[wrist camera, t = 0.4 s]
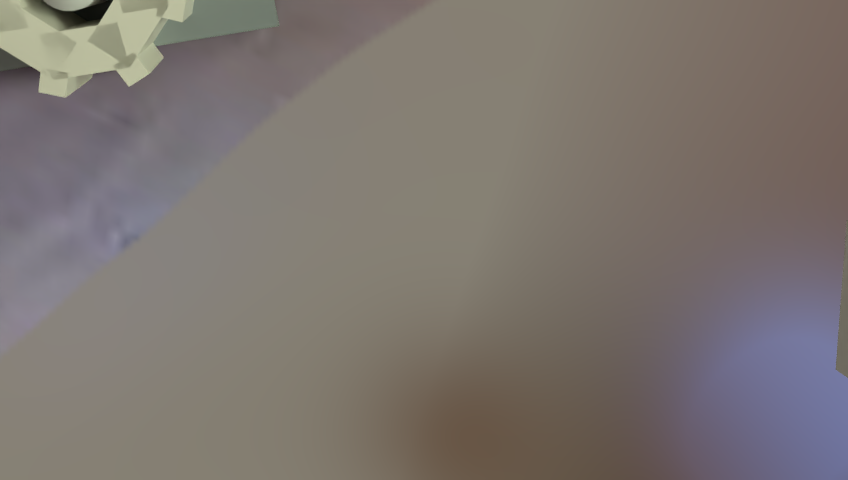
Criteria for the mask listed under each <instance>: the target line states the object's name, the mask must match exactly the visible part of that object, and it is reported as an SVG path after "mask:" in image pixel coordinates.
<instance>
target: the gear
mask: <svg viewBox="0 0 848 480" xmlns="http://www.w3.org/2000/svg"><path fill="white" fill-rule="evenodd" d="M193 5H194V0H113V2H112V3H111V5H110V6H109V8H108V10H107V11H106V13H105V14H104V16H103V18H102V19H98V20H92V21H86V20H84V19H83V18H81V17H80V16H78V15H77V14H75V13H74V12H72V11H62V10H58V9H56V8H53V7H51V6H50V5H48V4H47V3H46V2H44V1H43V0H0V48H2V49H3V50H5V51H7V52H8V53H10V54H11V55H13V56H15V57H16V58H18V59H20V60H21V61H23V62H25V63H26V64H28V65H30V66H31V67H33V68H35V69H36V70H38V71H39V72H40V82H39V92H40V93H45V94H50V95H55V96H60V97H65V98H66V97H67V96H68V95H70V94H71V93H73V92H74V91H75V90H77V89H78V88H79V87H81V86H82V85H83V84H85V83H86V82H88V81H89V80H90V79H92V75H93V74H94V73H100V72H106V71H112V70H116V71H117V72H118V73H119V74H120V76H121V77H122V78H123V80H124V81H125V82H126V84H127V85H128V86H129V87H130V86H131V85H133V84H134V83H136V82H137V81H139V80H140V79H142V78H144V77H145V76H147V75H148V74H150V73H151V72H152V70H153V69H154V68H155V67H156V66H157V65H158V64H159V63H160V61H161V60H162V59H163V58H164V57H163V56H162V54H161V53H160V52H159V50H158V49H157V48H156V46H155V45H154V43H153V42H154V41H155V39H156V37H157V36H158V34H159V33H160V31H161V30H162V28H163V26H164V25H165V23H166V22H167V20H168V19H170V20H175V21H179V22H183V21H185V20H186V19H187V18H188V17H189V16H190V15H191V14H192V11H193Z"/></svg>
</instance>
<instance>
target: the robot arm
mask: <svg viewBox="0 0 848 480" xmlns="http://www.w3.org/2000/svg"><path fill="white" fill-rule="evenodd" d="M836 370H837V371H839V372H840V373H842V374H843V375H845V376H846V377H847V378H848V220H847V224H846V237H845V252H844V264H843V278H842V293H841V305H840V319H839V332H838V346H837V359H836Z"/></svg>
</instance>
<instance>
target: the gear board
mask: <svg viewBox="0 0 848 480" xmlns="http://www.w3.org/2000/svg"><path fill="white" fill-rule="evenodd" d="M43 1H44V2H46V3H47V4H48V5H50V6H51V7H53V8H56V9H58V10H62V11H72V12H74V13H75V14H77V15H78V16H80V17H81V18H83V19H84V20H86V21H92V20H98V19H102V18H103V16H104V14H105V13H106V11H107V10H108V8H109V6H110V5H111V3H112V2H113V0H43ZM276 26H279V22H278V17H277V12H276V7H275V2H274V0H194V5H193V11H192V14H191V15H190V16H189V17H188V18H187V19H186V20H185V21H183V22H179V21H175V20H170V19H168V20H167V22H166V23H165V25H164V26H163V28H162V30H161V31H160V33H159V34H158V36H157V37H156V39H155V41H154V42H153V43H154V45H155V46H159V45H165V44H171V43H177V42H183V41H190V40H196V39H202V38H208V37H214V36H220V35H227V34H233V33H239V32H245V31H251V30H257V29H264V28H270V27H276ZM29 66H30V65H28V64H26V63H25V62H23V61H21V60H20V59H18V58H16V57H15V56H13V55H11V54H10V53H8V52H7V51H5V50H3V49H2V48H0V71H5V70H11V69H17V68H23V67H29Z"/></svg>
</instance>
